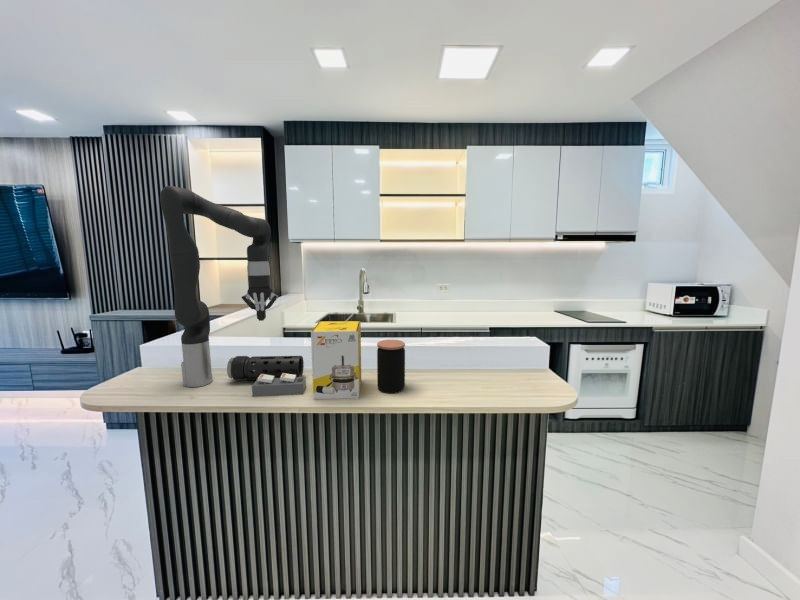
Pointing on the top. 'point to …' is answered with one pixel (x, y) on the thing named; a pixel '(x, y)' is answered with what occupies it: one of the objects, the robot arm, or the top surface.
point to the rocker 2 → (288, 377)
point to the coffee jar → (391, 366)
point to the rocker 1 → (266, 378)
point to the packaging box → (336, 360)
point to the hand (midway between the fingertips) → (261, 320)
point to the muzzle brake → (264, 366)
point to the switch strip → (279, 387)
